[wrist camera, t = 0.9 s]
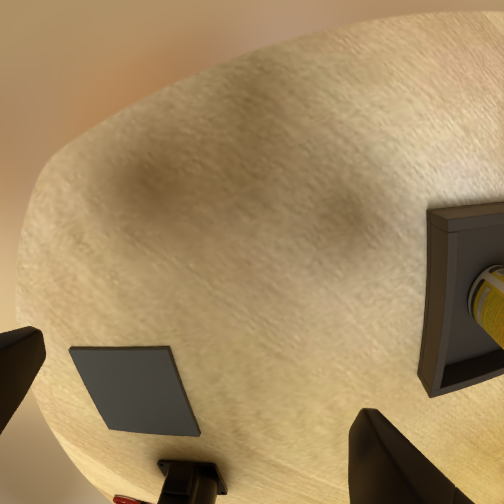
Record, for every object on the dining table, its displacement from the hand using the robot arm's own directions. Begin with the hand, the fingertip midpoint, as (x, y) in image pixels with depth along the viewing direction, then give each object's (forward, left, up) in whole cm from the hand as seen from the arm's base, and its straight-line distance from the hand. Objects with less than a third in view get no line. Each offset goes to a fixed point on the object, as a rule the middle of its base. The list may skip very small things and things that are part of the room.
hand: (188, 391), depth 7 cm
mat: (-12, +12, -14) cm, 22 cm away
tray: (-6, -18, -14) cm, 24 cm away
